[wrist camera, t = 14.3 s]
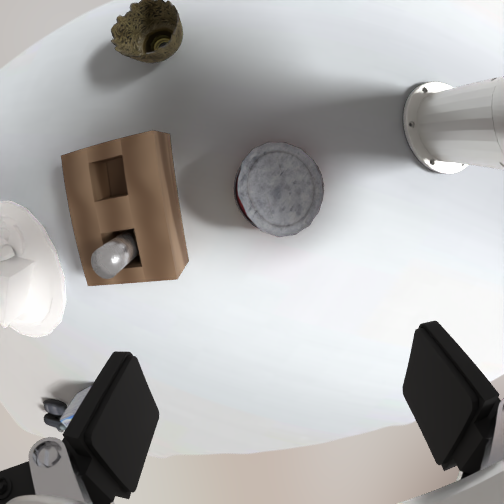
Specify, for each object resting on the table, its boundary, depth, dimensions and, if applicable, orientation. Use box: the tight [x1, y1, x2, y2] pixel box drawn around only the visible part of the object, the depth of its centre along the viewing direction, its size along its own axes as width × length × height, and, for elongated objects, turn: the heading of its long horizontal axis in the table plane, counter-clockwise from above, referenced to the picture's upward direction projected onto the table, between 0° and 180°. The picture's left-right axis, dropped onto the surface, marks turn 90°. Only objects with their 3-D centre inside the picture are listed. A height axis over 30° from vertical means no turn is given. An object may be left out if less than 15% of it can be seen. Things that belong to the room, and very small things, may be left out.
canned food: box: [234, 142, 324, 237], centre depth 32 cm, size 11×10×10 cm
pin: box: [91, 228, 139, 279], centre depth 31 cm, size 3×3×9 cm
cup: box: [111, 0, 183, 63], centre depth 26 cm, size 8×7×8 cm
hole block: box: [61, 130, 189, 286], centre depth 33 cm, size 12×16×6 cm
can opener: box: [43, 400, 67, 432], centre depth 47 cm, size 18×7×6 cm, turn 89°
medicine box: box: [60, 385, 92, 427], centre depth 43 cm, size 8×4×9 cm, turn 125°
